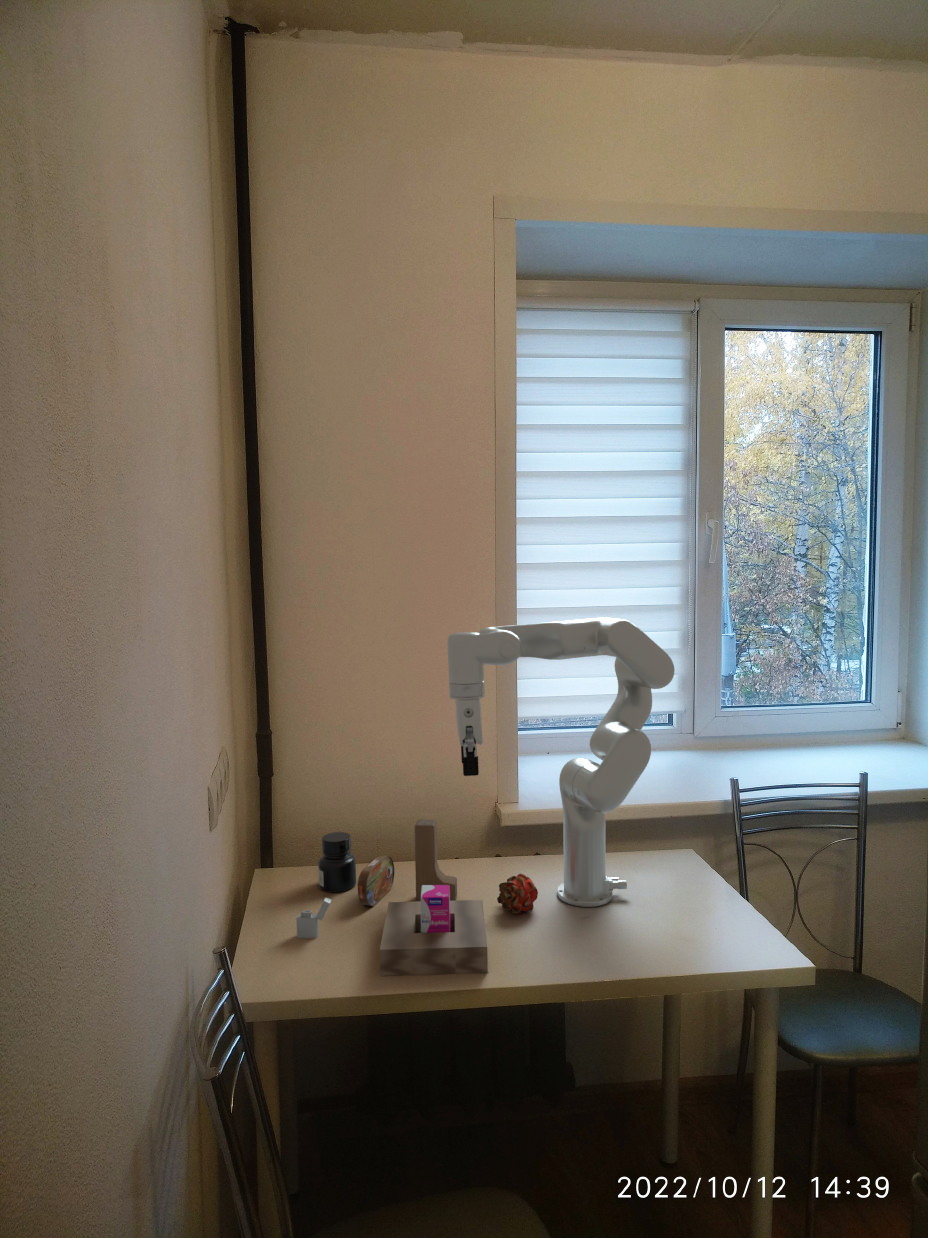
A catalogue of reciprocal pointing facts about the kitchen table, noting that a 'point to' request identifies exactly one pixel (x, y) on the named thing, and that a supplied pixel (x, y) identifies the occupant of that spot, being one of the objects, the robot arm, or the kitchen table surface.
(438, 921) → the supplement box
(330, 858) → the ink bottle
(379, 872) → the tin
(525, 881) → the dragon fruit
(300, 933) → the lighter
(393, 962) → the socket block
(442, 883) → the wooden block
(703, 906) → the kitchen table surface
